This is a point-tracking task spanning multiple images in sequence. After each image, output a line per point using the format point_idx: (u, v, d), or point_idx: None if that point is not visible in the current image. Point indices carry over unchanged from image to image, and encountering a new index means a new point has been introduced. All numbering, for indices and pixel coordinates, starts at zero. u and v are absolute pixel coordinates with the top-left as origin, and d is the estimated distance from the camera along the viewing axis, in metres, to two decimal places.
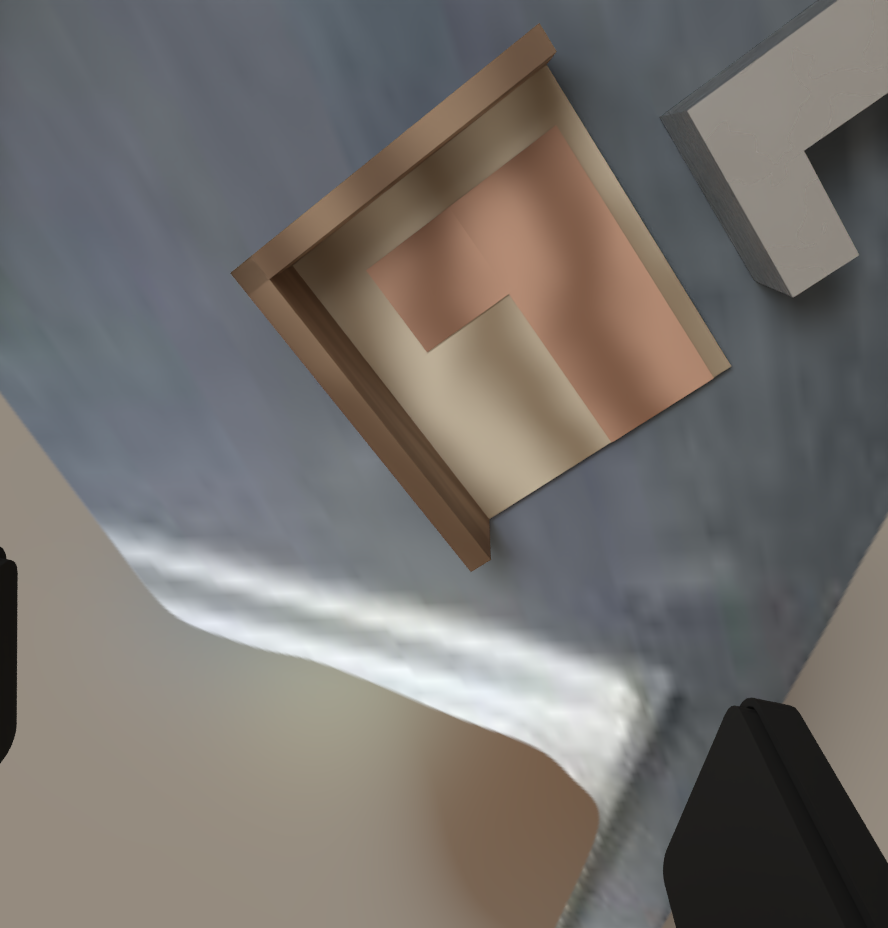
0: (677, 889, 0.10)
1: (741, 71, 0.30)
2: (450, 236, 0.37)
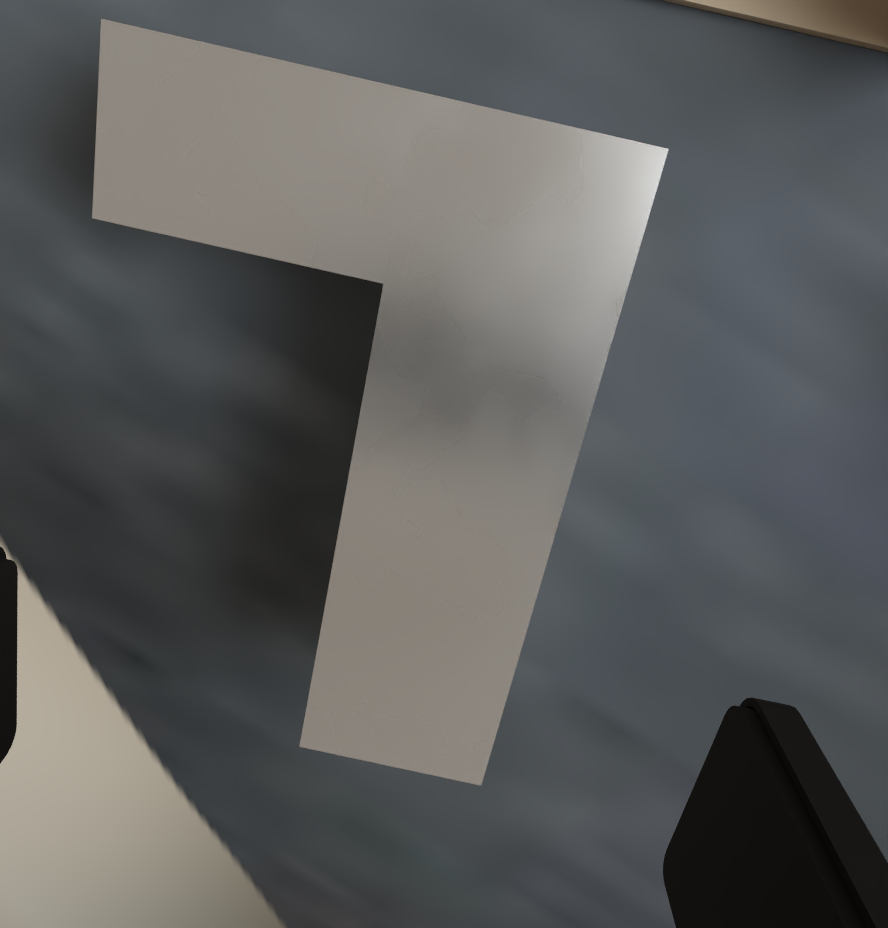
0: (677, 889, 0.10)
1: (622, 299, 0.13)
2: None
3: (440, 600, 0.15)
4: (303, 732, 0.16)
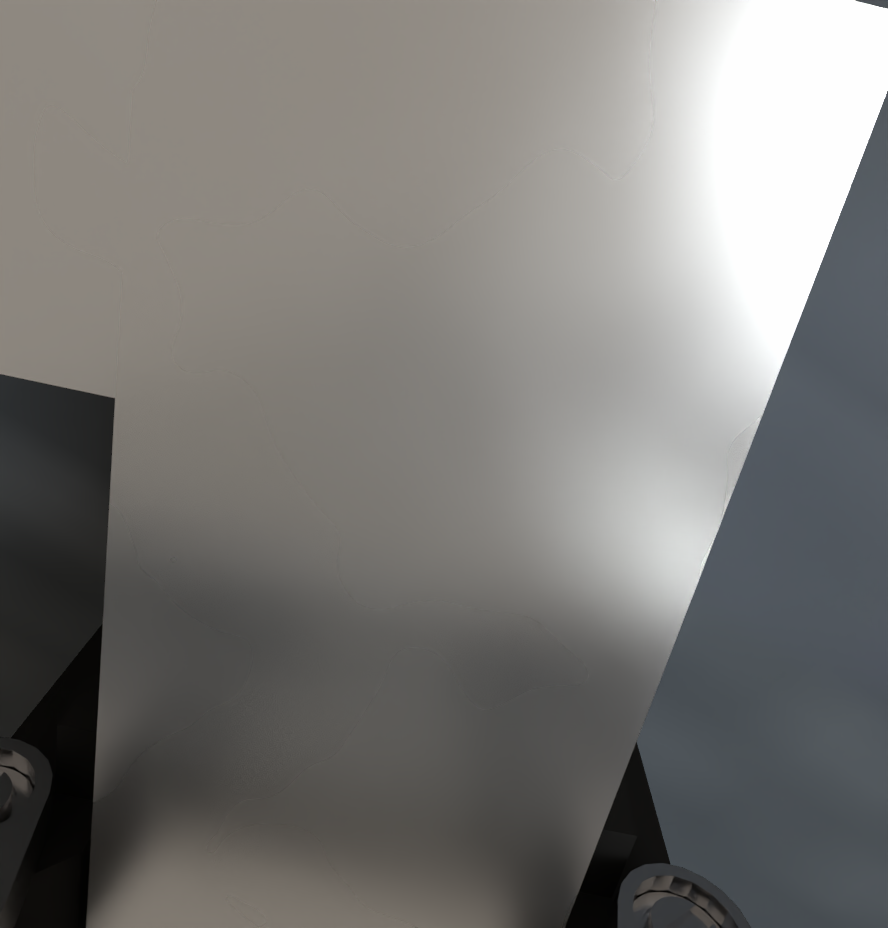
0: None
1: (745, 436, 0.05)
2: None
3: None
4: None
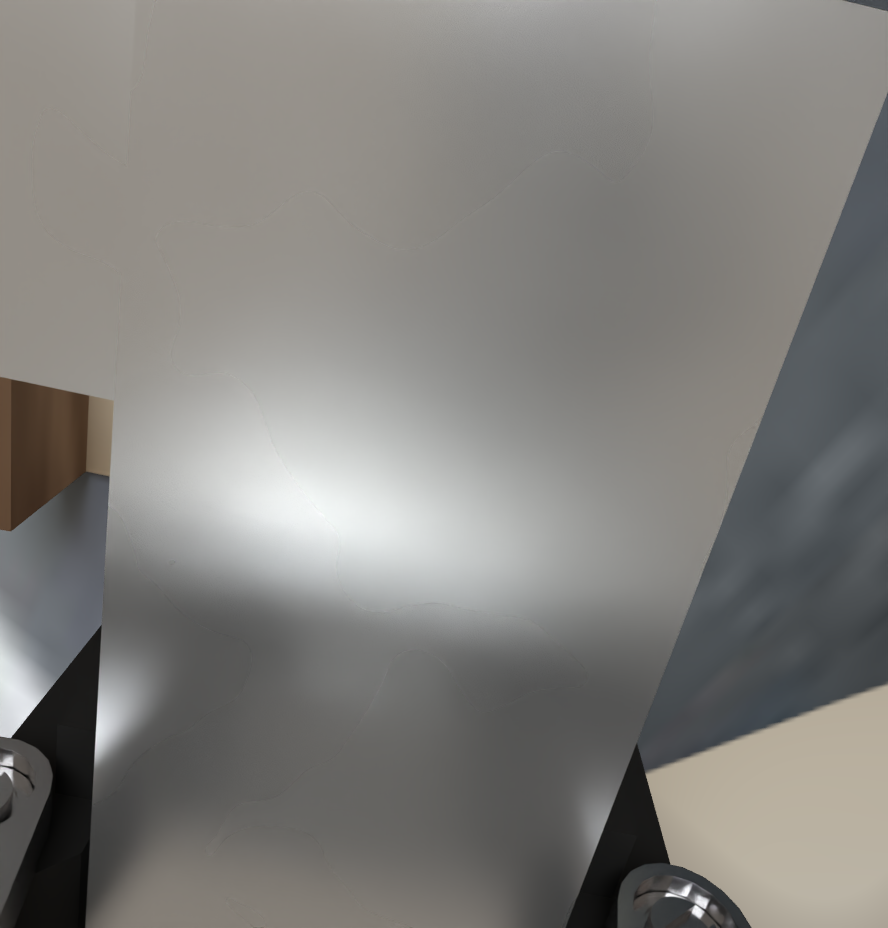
0: None
1: (745, 438, 0.05)
2: None
3: None
4: None
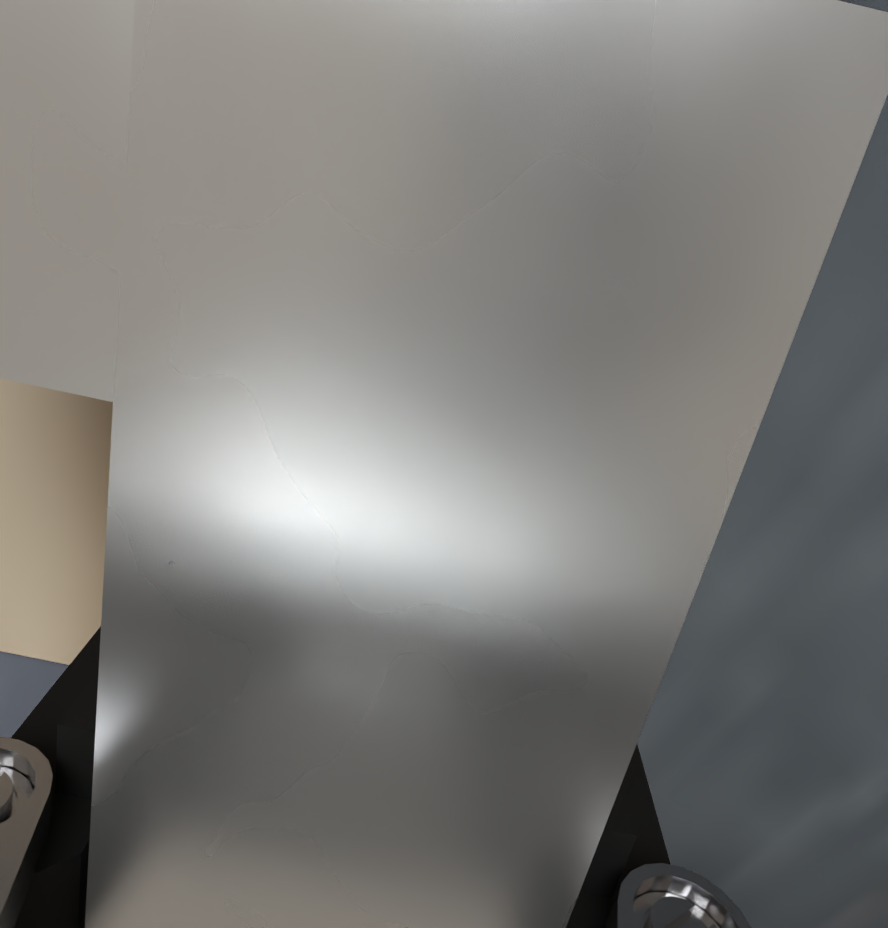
0: None
1: (745, 440, 0.05)
2: None
3: None
4: None
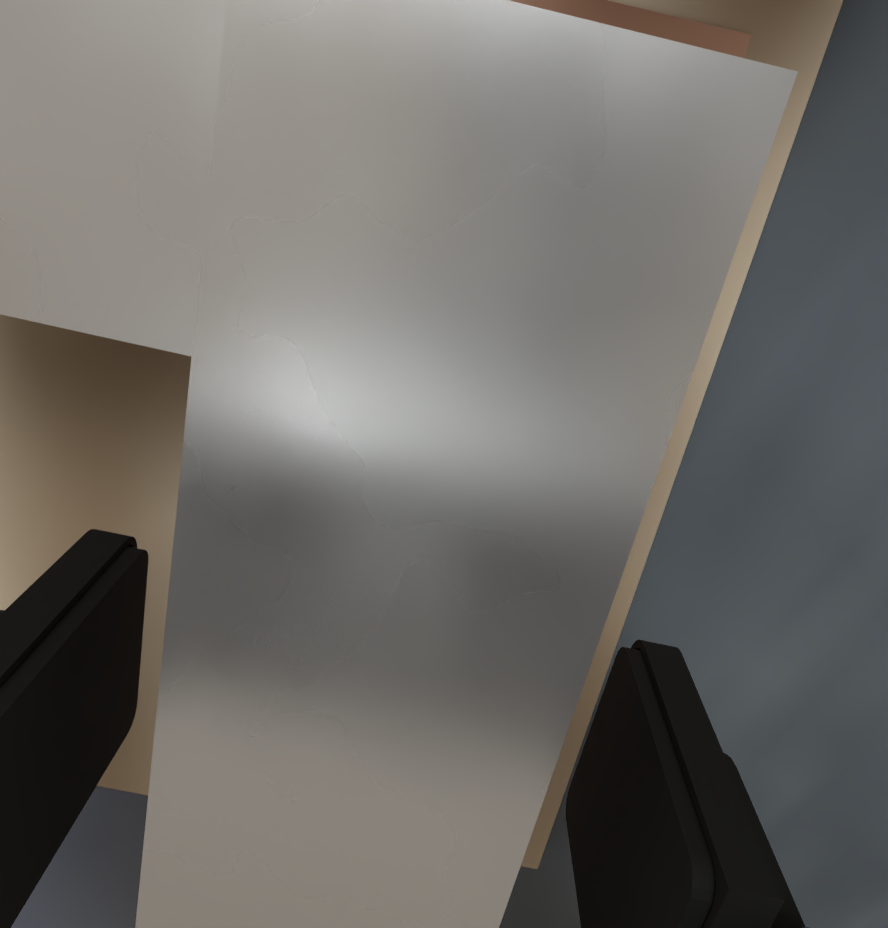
0: (574, 821, 0.11)
1: (681, 389, 0.06)
2: None
3: (339, 898, 0.09)
4: None
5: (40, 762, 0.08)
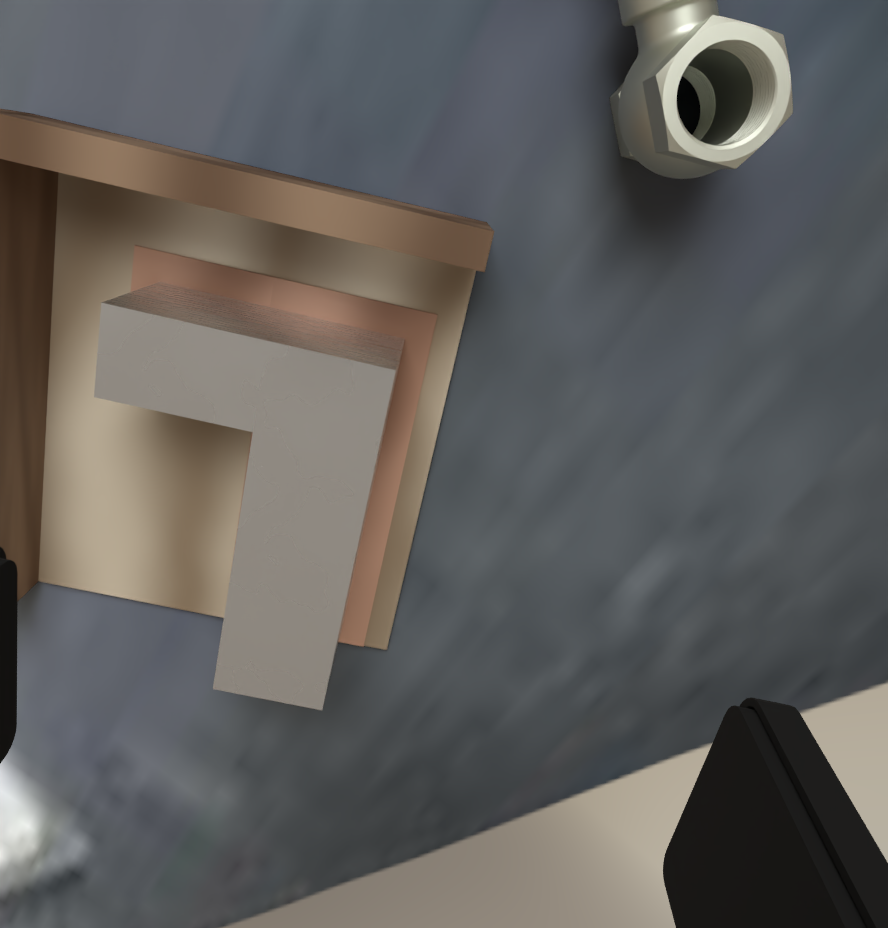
0: (677, 889, 0.10)
1: (379, 441, 0.25)
2: None
3: (292, 600, 0.27)
4: (215, 680, 0.28)
5: None
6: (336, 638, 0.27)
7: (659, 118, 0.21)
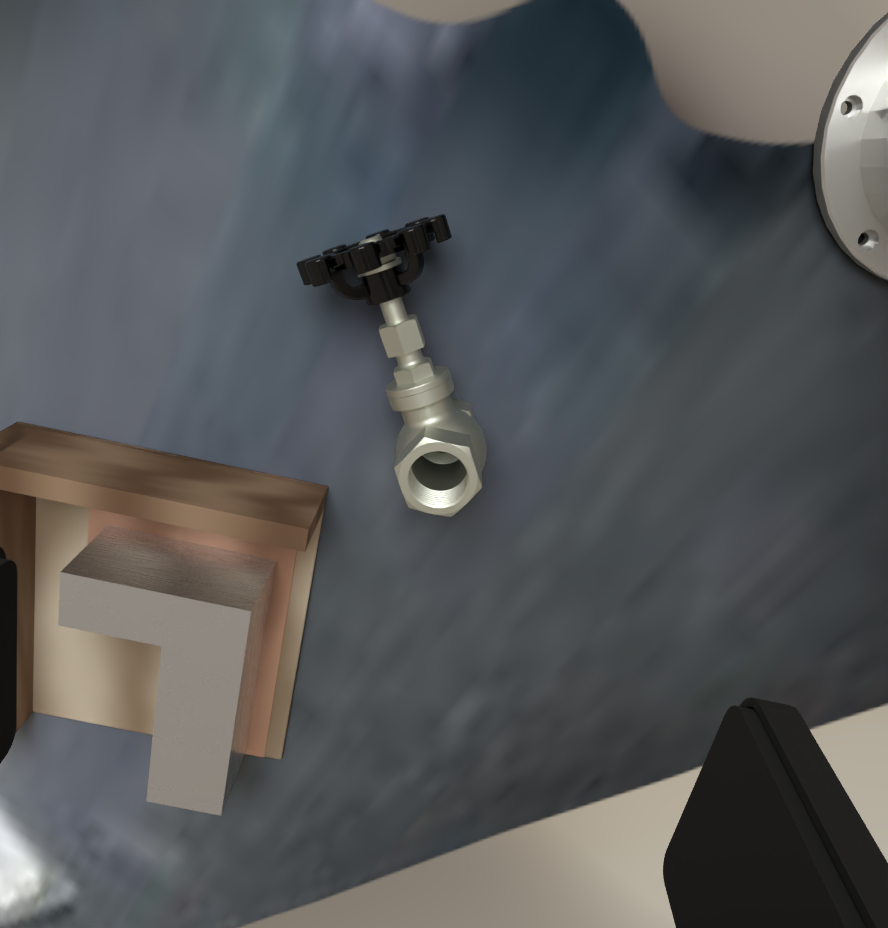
0: (677, 889, 0.10)
1: (244, 651, 0.37)
2: (169, 537, 0.41)
3: (195, 747, 0.39)
4: (147, 795, 0.41)
5: None
6: (226, 770, 0.40)
7: None
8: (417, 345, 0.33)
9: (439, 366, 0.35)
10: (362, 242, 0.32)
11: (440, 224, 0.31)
